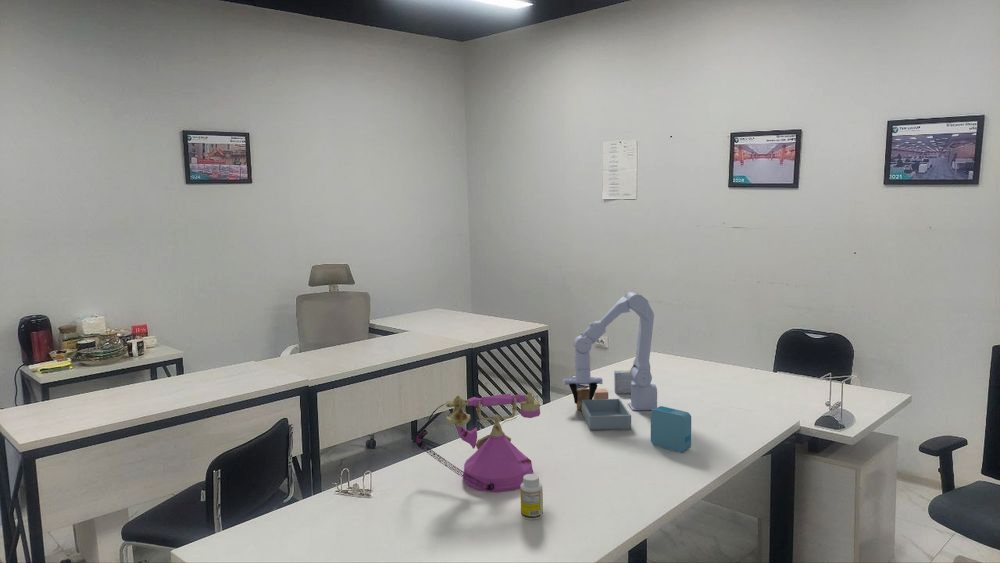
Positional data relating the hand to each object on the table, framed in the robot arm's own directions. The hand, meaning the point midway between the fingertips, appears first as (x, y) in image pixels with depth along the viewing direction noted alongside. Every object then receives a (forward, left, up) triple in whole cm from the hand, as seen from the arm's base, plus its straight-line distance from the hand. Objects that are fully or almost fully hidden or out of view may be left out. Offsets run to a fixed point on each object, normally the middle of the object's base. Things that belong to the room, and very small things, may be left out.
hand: (583, 402), depth 243 cm
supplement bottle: (+25, +82, -3) cm, 86 cm away
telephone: (+38, +60, -3) cm, 71 cm away
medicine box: (-20, -20, -3) cm, 28 cm away
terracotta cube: (-8, -7, -3) cm, 11 cm away
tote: (-6, +14, -3) cm, 15 cm away
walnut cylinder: (0, 0, -2) cm, 2 cm away
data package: (-22, +40, -3) cm, 46 cm away
